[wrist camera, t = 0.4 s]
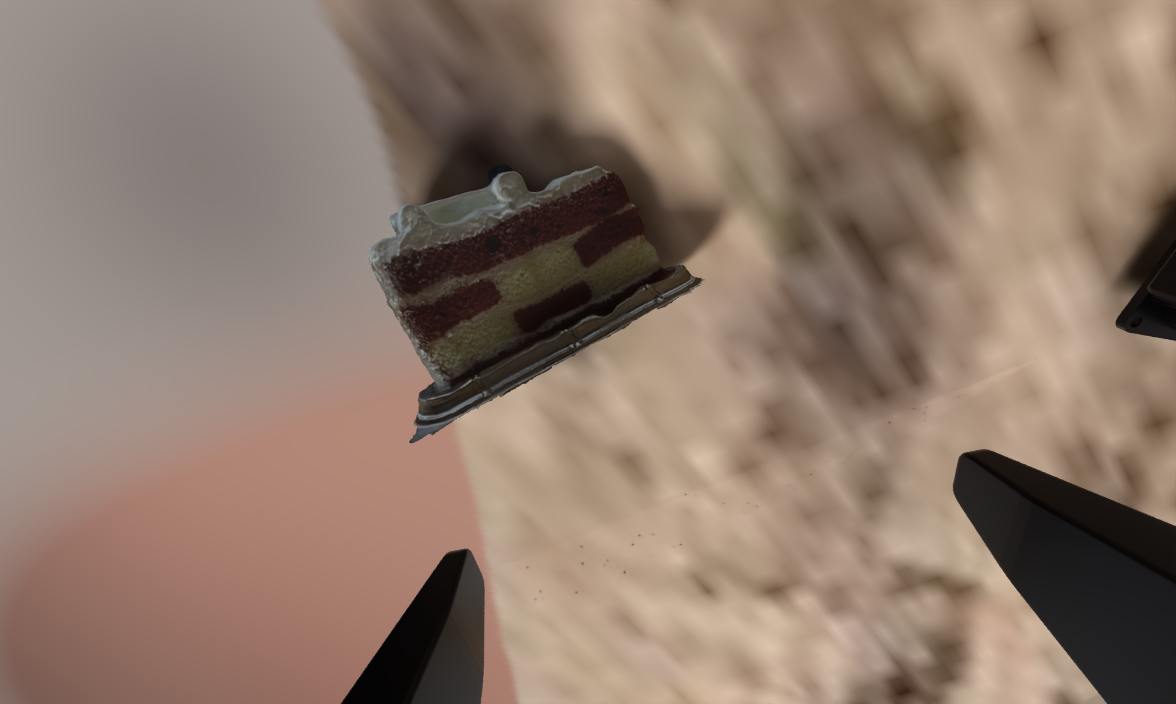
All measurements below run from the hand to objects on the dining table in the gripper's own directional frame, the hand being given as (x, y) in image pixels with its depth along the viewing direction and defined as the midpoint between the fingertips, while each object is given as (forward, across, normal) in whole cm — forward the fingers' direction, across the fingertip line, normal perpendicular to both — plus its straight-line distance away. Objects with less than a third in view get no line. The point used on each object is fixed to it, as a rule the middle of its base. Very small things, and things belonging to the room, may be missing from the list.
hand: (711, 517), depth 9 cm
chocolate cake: (+16, 0, -1) cm, 16 cm away
